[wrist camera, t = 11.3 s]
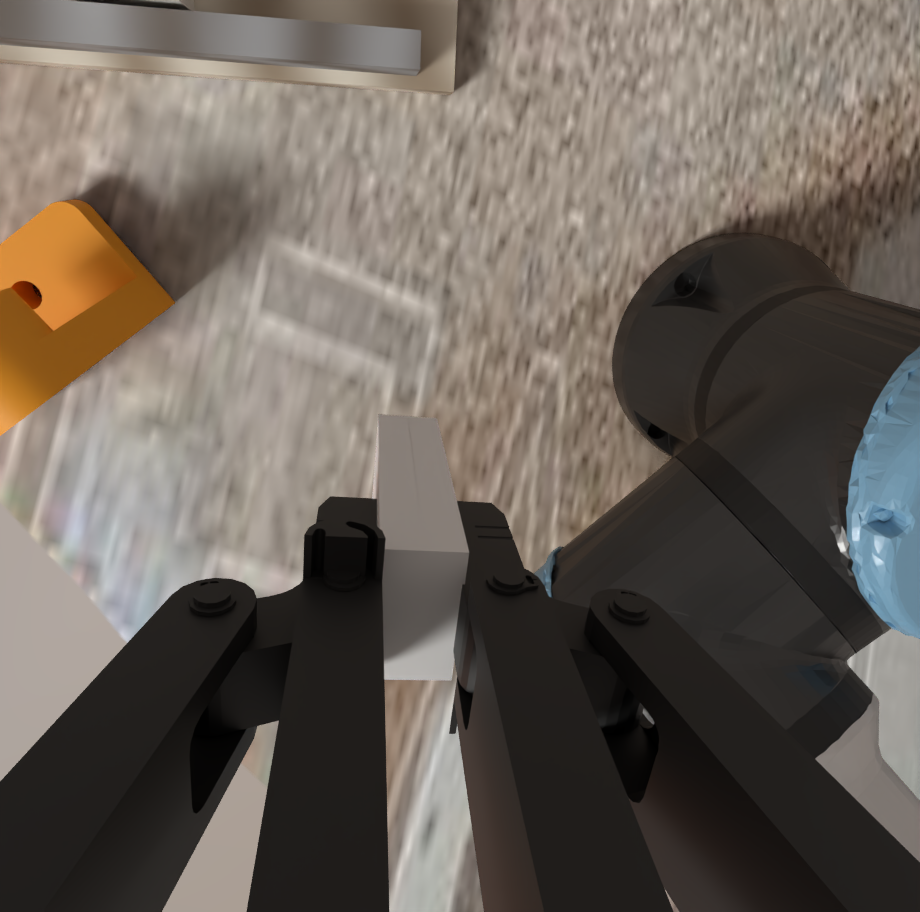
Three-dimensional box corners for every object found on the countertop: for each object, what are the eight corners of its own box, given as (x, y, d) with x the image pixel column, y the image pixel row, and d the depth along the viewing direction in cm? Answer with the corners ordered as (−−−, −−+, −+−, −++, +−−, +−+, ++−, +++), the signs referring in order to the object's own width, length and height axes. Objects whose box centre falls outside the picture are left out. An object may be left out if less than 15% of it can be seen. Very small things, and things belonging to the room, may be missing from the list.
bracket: (84, 190, 37) (-35, 205, 26) (179, 300, 40) (108, 354, 29) (-59, 304, 38) (-228, 363, 27) (43, 401, 41) (-73, 490, 30)
